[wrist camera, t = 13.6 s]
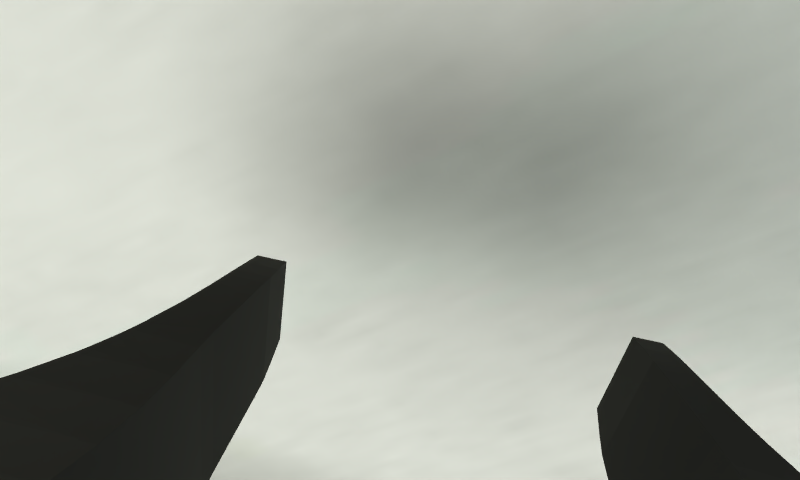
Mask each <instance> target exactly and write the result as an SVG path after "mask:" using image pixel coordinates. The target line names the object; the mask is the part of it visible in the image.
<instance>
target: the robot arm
mask: <svg viewBox="0 0 800 480" xmlns="http://www.w3.org/2000/svg"><path fill="white" fill-rule="evenodd" d="M285 272H286V262H285V261H280V260H276V259H271V258H267V257H262V256H256V257H254V258H253V259H251V260H249V261H248V262H246V263H244V264H243V265H241V266H240V267H238V268H236V269H235V270H233V271H232V272H230V273H228V274H227V275H225V276H224V277H222V278H220V279H219V280H217V281H216V282H214V283H212V284H211V285H209V286H207V287H206V288H204V289H202V290H201V291H199V292H197V293H196V294H194V295H192V296H191V297H189V298H187V299H186V300H184V301H182V302H180V303H178V304H177V305H175V306H173V307H171V308H169V309H167V310H165V311H163V312H162V313H160V314H158V315H156V316H154V317H152V318H150V319H148V320H147V321H145V322H143V323H141V324H139V325H137V326H135V327H133V328H130V329H128V330H126V331H124V332H122V333H120V334H117V335H115V336H113V337H111V338H108V339H106V340H104V341H101V342H99V343H96V344H94V345H92V346H89V347H87V348H85V349H82V350H79V351H77V352H74V353H72V354H69V355H66V356H63V357H60V358H58V359H55V360H52V361H49V362H46V363H43V364H41V365H38V366H35V367H32V368H29V369H26V370H24V371H21V372H18V373H15V374H12V375H9V376H5V377H2V378H0V480H209V479H210V477H211V475H212V473H213V471H214V470H215V468H216V466H217V464H218V462H219V461H220V459H221V457H222V455H223V453H224V451H225V450H226V448H227V446H228V444H229V442H230V441H231V439H232V437H233V435H234V433H235V432H236V430H237V428H238V426H239V424H240V423H241V421H242V419H243V417H244V415H245V413H246V412H247V410H248V408H249V406H250V404H251V402H252V401H253V399H254V397H255V395H256V393H257V391H258V390H259V388H260V386H261V384H262V382H263V380H264V378H265V375H266V373H267V370H268V368H269V365H270V363H271V360H272V358H273V355H274V353H275V350H276V347H277V345H278V342H279V340H280V331H281V319H282V307H283V296H284V284H285ZM597 413H598V423H599V434H600V441H601V449H602V456H603V460H604V464H605V469H606V472H607V476H608V480H800V472H798V471H797V470H796V469H795V468H794V467H793V466H792V465H791V464H789V463H788V462H787V461H786V460H785V459H784V458H783V457H782V456H781V455H779V454H778V453H777V452H776V451H775V450H774V449H773V448H772V447H771V446H769V445H768V444H767V443H766V442H765V441H764V440H763V439H762V438H761V437H760V436H759V435H758V434H757V433H756V432H755V431H753V430H752V429H751V428H750V427H749V426H748V425H747V424H746V423H745V422H744V421H743V420H742V419H741V418H740V417H739V416H738V415H737V414H736V413H735V412H734V411H733V410H732V409H731V408H730V407H729V406H728V405H727V404H726V403H725V402H724V401H723V400H722V399H721V398H720V397H719V396H718V395H717V394H716V393H715V392H714V391H713V390H712V389H711V388H709V387H708V386H707V385H706V384H705V383H704V382H703V381H702V380H701V379H700V378H699V377H698V376H697V375H696V374H695V373H694V372H693V371H692V370H691V369H690V368H689V367H688V366H687V365H686V364H685V363H684V362H683V361H682V360H681V359H680V358H679V357H678V356H677V355H676V354H675V353H673V352H672V351H671V350H670V349H669V348H668V347H667V346H665V345H664V344H663V343H659V342H654V341H650V340H645V339H641V338H636V337H633V338H632V340H631V342H630V344H629V346H628V348H627V350H626V352H625V354H624V356H623V358H622V360H621V362H620V364H619V366H618V368H617V370H616V372H615V374H614V376H613V378H612V380H611V382H610V384H609V386H608V388H607V390H606V392H605V394H604V396H603V398H602V400H601V402H600V404H599V406H598V408H597Z"/></svg>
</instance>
